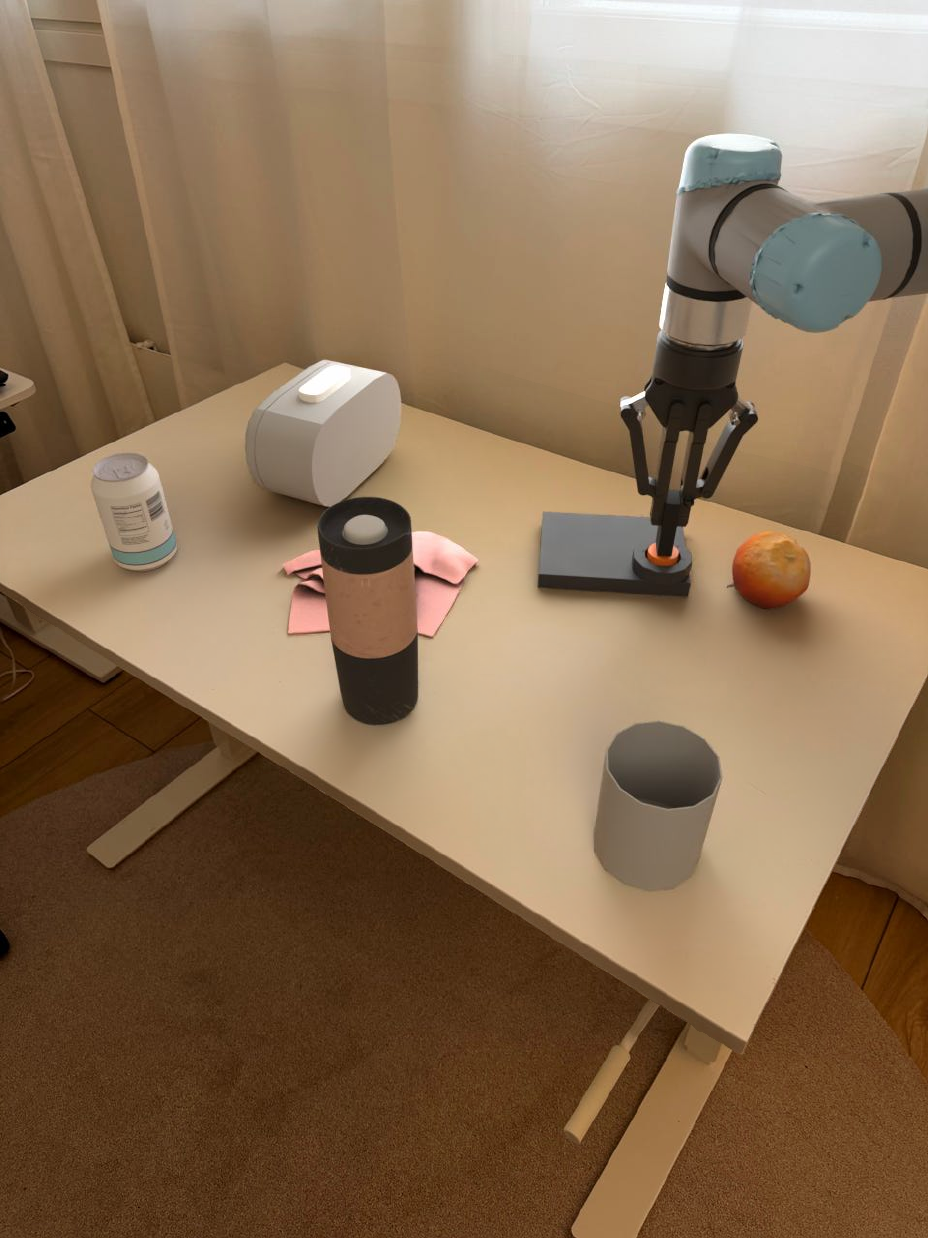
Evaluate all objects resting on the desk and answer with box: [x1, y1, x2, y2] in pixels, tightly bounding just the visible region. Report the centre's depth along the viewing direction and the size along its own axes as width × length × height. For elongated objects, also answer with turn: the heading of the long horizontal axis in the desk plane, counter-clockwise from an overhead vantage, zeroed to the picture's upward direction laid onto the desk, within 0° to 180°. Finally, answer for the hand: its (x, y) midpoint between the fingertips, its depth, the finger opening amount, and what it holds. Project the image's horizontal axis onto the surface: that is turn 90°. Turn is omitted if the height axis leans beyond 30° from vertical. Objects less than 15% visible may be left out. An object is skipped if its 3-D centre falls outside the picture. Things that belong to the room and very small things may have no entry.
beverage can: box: [90, 452, 178, 572], centre depth 97 cm, size 7×7×12 cm
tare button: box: [647, 543, 679, 566], centre depth 95 cm, size 3×3×2 cm
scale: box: [537, 511, 693, 598], centre depth 99 cm, size 16×13×4 cm
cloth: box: [282, 530, 480, 638], centre depth 96 cm, size 20×22×2 cm
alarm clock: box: [244, 359, 402, 508], centre depth 109 cm, size 21×10×13 cm, turn 154°
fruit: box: [726, 530, 812, 610], centre depth 93 cm, size 8×8×8 cm
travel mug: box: [317, 496, 419, 726], centre depth 77 cm, size 8×8×20 cm
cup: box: [593, 720, 724, 892], centre depth 68 cm, size 8×8×10 cm
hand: (663, 548), depth 94 cm, fingers closed
